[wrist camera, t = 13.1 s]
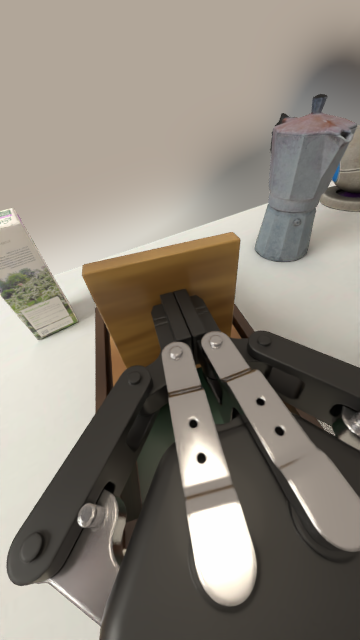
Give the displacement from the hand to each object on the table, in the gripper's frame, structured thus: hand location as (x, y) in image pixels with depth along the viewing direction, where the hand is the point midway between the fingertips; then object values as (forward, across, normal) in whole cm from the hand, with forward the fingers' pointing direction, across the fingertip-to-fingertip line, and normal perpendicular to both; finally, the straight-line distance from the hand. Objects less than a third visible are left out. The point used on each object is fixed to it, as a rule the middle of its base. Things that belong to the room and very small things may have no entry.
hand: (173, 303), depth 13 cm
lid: (+8, 0, +7) cm, 11 cm away
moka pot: (+23, -24, +13) cm, 36 cm away
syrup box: (+18, +15, +13) cm, 27 cm away
